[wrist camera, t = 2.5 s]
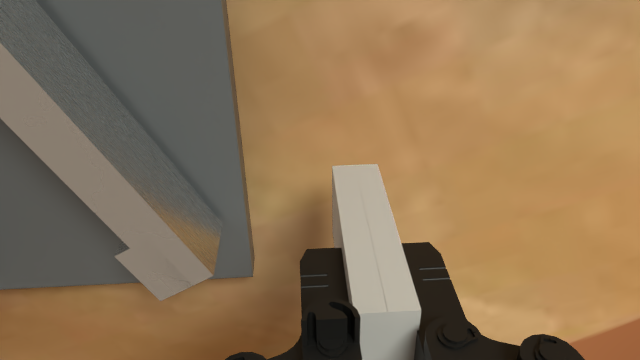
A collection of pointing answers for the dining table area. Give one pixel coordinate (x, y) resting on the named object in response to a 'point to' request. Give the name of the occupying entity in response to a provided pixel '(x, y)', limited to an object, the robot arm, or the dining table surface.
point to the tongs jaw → (102, 153)
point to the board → (155, 118)
